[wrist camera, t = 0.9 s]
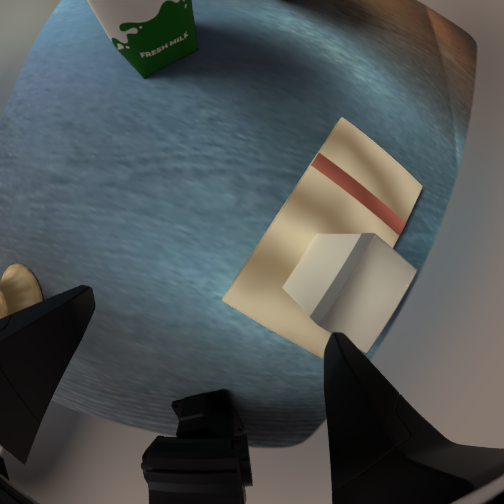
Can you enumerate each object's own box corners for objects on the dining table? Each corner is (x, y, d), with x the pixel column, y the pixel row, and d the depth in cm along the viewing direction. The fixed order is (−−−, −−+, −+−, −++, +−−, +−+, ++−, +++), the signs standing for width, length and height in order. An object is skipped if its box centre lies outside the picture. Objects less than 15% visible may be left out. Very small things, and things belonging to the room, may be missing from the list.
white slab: (315, 309, 26) (366, 354, 15) (281, 287, 26) (317, 325, 15) (349, 256, 26) (417, 270, 15) (316, 232, 26) (374, 233, 15)
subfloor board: (319, 354, 27) (322, 358, 26) (222, 298, 26) (222, 300, 25) (417, 187, 27) (423, 186, 26) (338, 120, 26) (342, 116, 25)
